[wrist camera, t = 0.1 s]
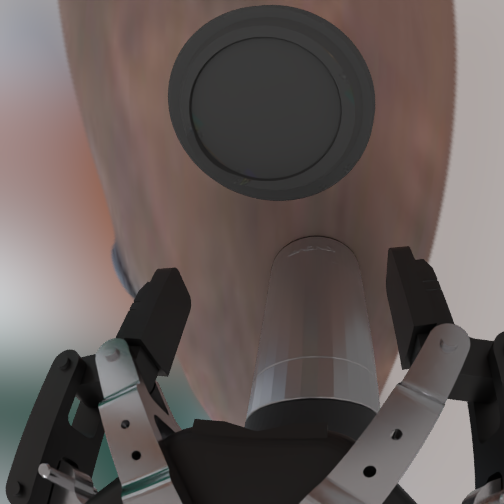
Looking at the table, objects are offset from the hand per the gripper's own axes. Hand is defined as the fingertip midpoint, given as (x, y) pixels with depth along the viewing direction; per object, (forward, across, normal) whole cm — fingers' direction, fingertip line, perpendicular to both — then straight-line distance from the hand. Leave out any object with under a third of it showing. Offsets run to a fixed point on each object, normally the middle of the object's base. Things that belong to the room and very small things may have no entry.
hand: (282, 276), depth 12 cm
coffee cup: (+18, 0, +4) cm, 18 cm away
